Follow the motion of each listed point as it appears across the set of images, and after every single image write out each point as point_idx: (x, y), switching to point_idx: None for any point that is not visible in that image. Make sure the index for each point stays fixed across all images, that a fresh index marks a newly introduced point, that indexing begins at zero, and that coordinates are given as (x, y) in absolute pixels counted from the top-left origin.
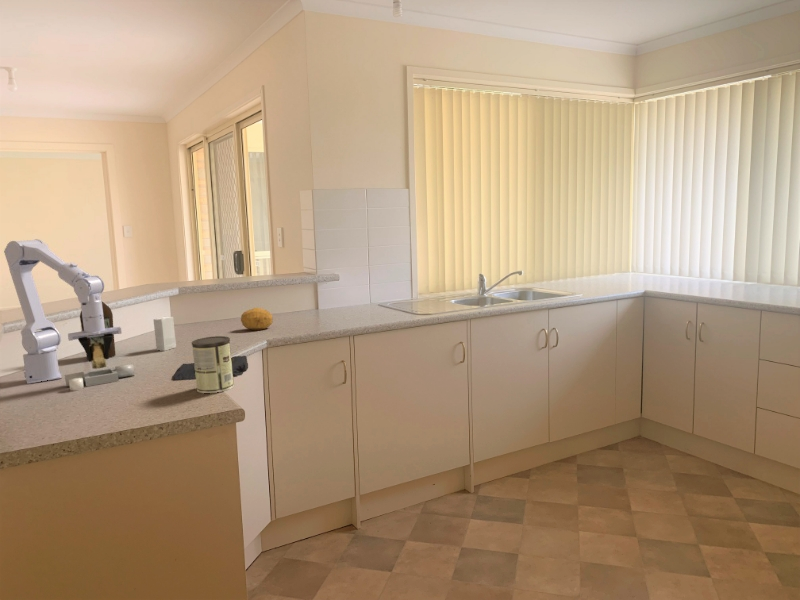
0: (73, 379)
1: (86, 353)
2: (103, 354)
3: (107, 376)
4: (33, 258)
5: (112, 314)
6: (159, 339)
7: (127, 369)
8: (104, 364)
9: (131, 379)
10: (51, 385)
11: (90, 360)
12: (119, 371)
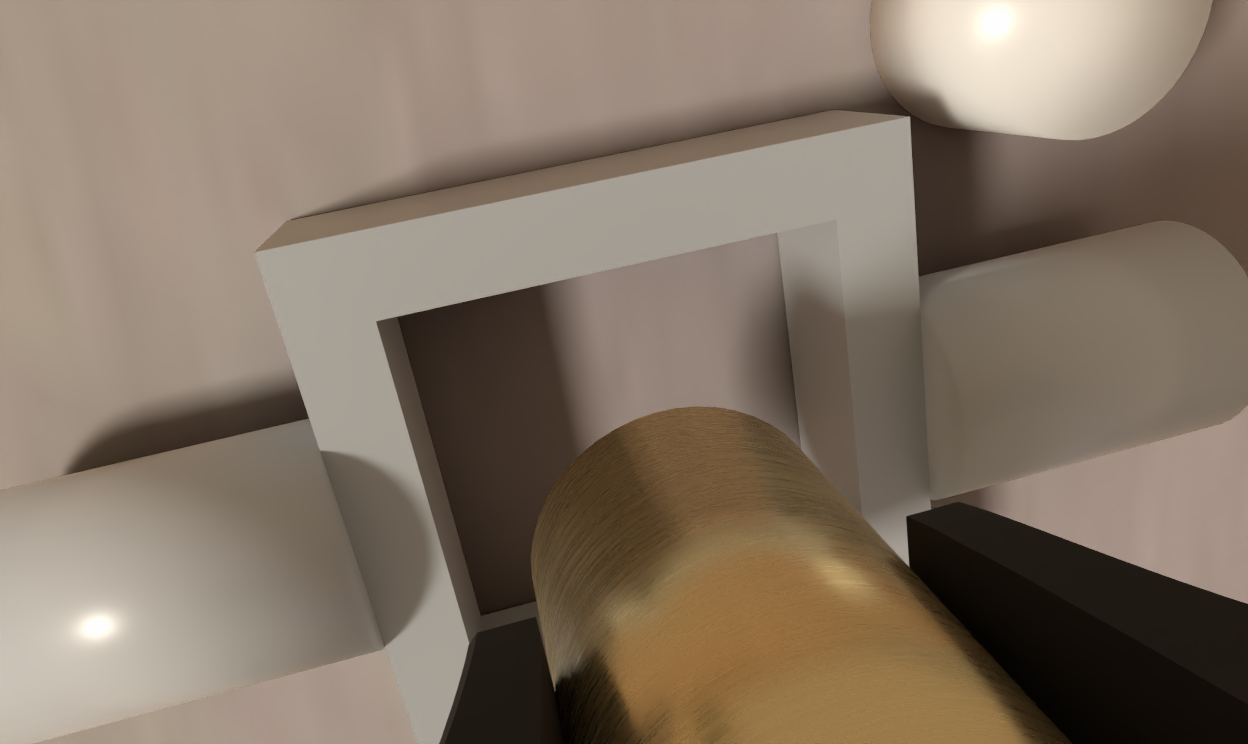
0: (1132, 33)
1: (1227, 607)
2: (615, 707)
3: (480, 199)
4: None
5: None
6: None
7: (77, 506)
8: (569, 512)
9: (22, 222)
10: (1245, 487)
11: (952, 516)
12: (259, 455)
